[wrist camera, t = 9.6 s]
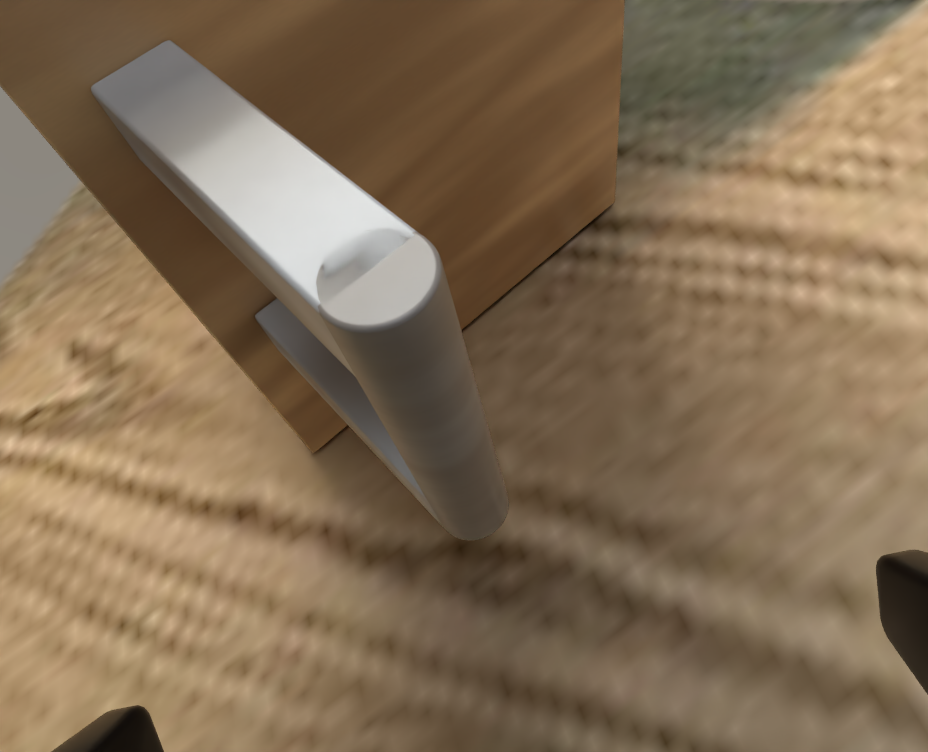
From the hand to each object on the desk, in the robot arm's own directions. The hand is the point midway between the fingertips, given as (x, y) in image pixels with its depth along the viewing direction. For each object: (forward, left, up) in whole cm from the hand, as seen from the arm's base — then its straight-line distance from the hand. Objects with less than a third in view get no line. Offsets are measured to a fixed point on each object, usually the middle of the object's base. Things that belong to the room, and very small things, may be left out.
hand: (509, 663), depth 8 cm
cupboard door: (+9, 0, -8) cm, 12 cm away
